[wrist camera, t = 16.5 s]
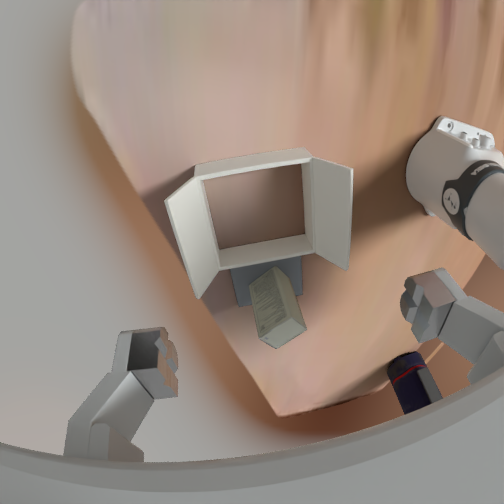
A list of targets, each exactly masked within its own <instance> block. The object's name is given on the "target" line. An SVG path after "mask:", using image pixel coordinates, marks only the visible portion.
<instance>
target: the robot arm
mask: <svg viewBox="0 0 504 504" xmlns="http://www.w3.org/2000/svg"><path fill="white" fill-rule="evenodd" d="M406 182H407V187H408V190H409V192H410V194H411V195H412V196H413V198H414V199H415V200H417V201H418V202H420V203H421V204H422V205H423V206H424V209H425V211H426V213H427V214H429V215H430V216H437V217H439V218H440V219H441V220H443V221H444V222H445V223H447V224H448V225H449V226H451V227H452V228H454V229H458V230H459V232H460V233H461V234H462V235H464V236H466V237H467V238H468V239H469V240H472V241H474V242H475V243H476V244H477V245H478V246H479V247H480V248H481V249H482V250H483V251H484V252H485V253H486V254H487V255H488V256H489V257H490V258H491V259H492V260H493V261H494V263H495V264H496V265H497V266H498V267H499V268H501V269H503V270H504V157H503V154H502V152H501V151H499V150H498V149H496V148H495V143H494V138H493V135H492V134H491V133H490V132H488V131H486V130H483V129H480V128H478V127H475V126H472V125H469V124H466V123H463V122H460V121H457V120H454V119H451V118H448V117H445V116H440V117H439V118H438V119H437V120H436V122H435V124H434V126H433V127H432V129H431V130H430V131H429V132H428V133H427V134H426V135H424V136H423V137H422V138H421V139H420V140H419V141H418V143H417V144H416V145H415V147H414V148H413V150H412V152H411V154H410V157H409V160H408V163H407V168H406ZM404 287H405V288H406V290H405V292H404V293H403V294H402V295H401V300H400V307H401V312H402V314H403V316H404V318H405V320H406V321H408V322H410V323H412V327H411V330H412V332H413V334H414V335H415V337H416V339H417V341H418V342H419V343H422V342H425V341H428V340H431V339H433V338H437V337H438V339H440V340H441V341H443V342H444V343H445V344H447V345H448V346H449V347H451V348H452V349H454V350H455V351H457V352H458V353H459V354H460V355H462V356H463V357H464V358H466V359H468V360H469V361H470V362H471V363H473V364H474V366H473V367H472V368H471V370H470V371H469V373H468V376H467V378H468V380H469V382H470V383H471V385H470V386H468V387H466V388H464V389H462V390H460V391H458V392H456V393H454V394H452V395H450V396H448V397H445V398H443V399H441V400H439V401H437V402H435V403H432V404H430V405H428V406H425V407H423V408H421V409H418V410H416V411H414V412H411V413H409V414H406V415H404V416H401V417H398V418H396V419H393V420H390V421H388V422H385V423H382V424H379V425H376V426H373V427H370V428H367V429H364V430H361V431H358V432H354V433H351V434H348V435H345V436H341V437H337V438H334V439H329V440H326V441H322V442H318V443H314V444H309V445H305V446H301V447H296V448H291V449H286V450H281V451H275V452H270V453H263V454H257V455H251V456H243V457H235V458H227V459H216V460H204V461H188V462H144V452H143V451H142V450H141V449H139V448H138V447H137V446H135V445H134V444H132V443H131V440H132V438H133V436H134V435H135V433H136V431H137V430H138V428H139V426H140V424H141V423H142V421H143V419H144V417H145V416H146V414H147V412H148V411H149V409H150V407H151V406H152V404H153V402H154V400H153V399H162V398H172V397H178V379H177V378H176V376H175V374H174V373H175V372H176V371H177V369H178V358H177V352H176V349H175V346H174V344H173V342H171V341H170V340H168V333H167V331H166V329H165V328H164V327H158V328H149V329H139V330H131V331H122V332H120V334H119V335H118V340H117V345H116V350H115V356H114V361H113V366H112V372H111V373H107V374H106V376H105V377H104V378H103V379H102V380H101V382H100V383H99V384H98V385H97V386H96V388H95V389H94V390H93V391H92V393H91V394H90V395H89V396H88V397H87V399H86V400H85V401H84V402H83V404H82V405H81V406H80V407H79V408H78V410H77V411H76V412H75V413H74V415H73V416H72V417H71V418H70V420H69V421H68V427H67V434H66V440H65V448H64V455H63V456H62V455H56V454H50V453H44V452H39V451H34V450H29V449H25V448H20V447H16V446H12V445H8V444H4V443H1V442H0V504H504V313H503V312H500V311H499V310H497V309H495V308H493V307H491V306H489V305H487V304H485V303H483V302H481V301H479V300H477V299H475V298H473V297H471V296H469V297H467V296H466V294H465V293H464V292H463V291H462V289H461V288H460V287H459V285H458V284H457V283H456V282H455V280H454V279H453V278H452V277H451V276H450V274H449V273H448V272H447V271H446V270H445V269H444V268H439V269H435V270H432V271H428V272H424V273H421V274H417V275H414V276H410V277H408V278H407V279H406V280H405V284H404Z"/></svg>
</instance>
